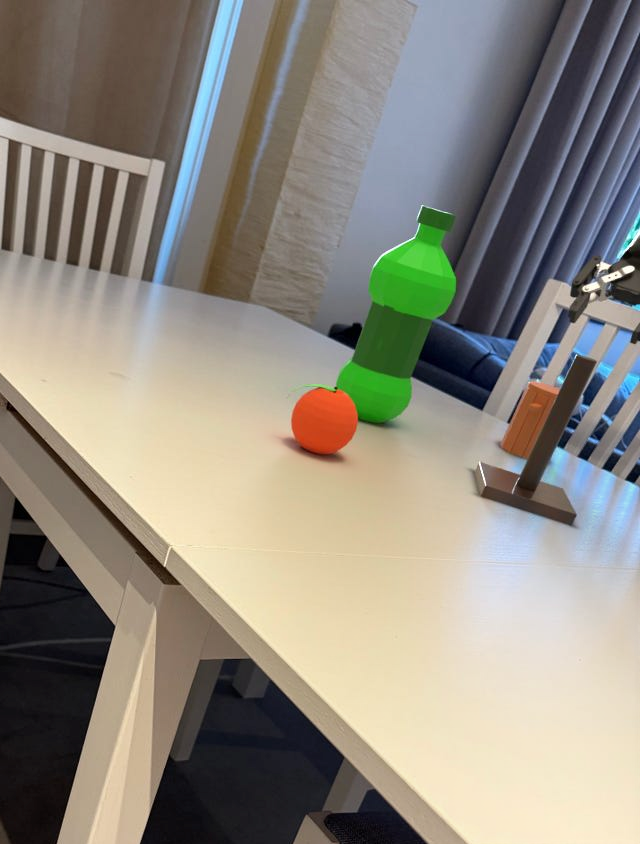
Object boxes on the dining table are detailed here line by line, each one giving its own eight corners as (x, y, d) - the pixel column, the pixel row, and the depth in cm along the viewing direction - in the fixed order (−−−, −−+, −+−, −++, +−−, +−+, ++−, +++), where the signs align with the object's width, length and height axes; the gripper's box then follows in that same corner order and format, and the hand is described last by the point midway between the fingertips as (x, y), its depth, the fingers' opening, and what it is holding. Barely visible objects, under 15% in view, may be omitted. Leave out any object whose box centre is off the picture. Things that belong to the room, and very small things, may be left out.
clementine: (267, 445, 96) (288, 378, 93) (279, 431, 102) (299, 368, 99) (340, 470, 95) (365, 403, 92) (348, 454, 101) (371, 391, 98)
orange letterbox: (508, 443, 128) (537, 380, 124) (551, 461, 125) (582, 396, 121) (487, 449, 121) (516, 382, 117) (531, 468, 119) (563, 400, 114)
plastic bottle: (309, 402, 119) (379, 193, 107) (356, 403, 126) (427, 207, 114) (369, 432, 113) (451, 214, 101) (416, 431, 120) (497, 227, 108)
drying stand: (557, 500, 107) (624, 364, 100) (570, 527, 99) (645, 380, 91) (473, 473, 108) (534, 336, 101) (479, 498, 100) (546, 350, 92)
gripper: (617, 210, 128) (555, 291, 124) (723, 239, 121) (661, 326, 118) (608, 252, 134) (549, 331, 131) (708, 282, 128) (649, 366, 125)
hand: (602, 328), depth 124 cm, fingers open, 8 cm apart
